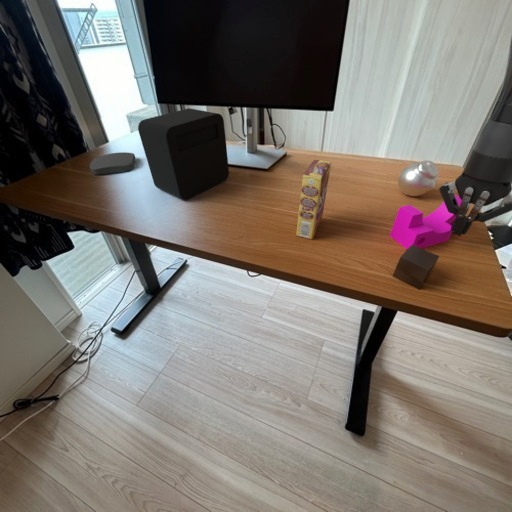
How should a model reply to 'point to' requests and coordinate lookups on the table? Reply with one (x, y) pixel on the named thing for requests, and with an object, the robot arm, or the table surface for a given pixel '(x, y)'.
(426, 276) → the walnut cube
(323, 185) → the candy box
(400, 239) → the magenta curved bracket
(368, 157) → the table surface
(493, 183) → the robot arm
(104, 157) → the media streaming box
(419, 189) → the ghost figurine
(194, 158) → the air purifier
